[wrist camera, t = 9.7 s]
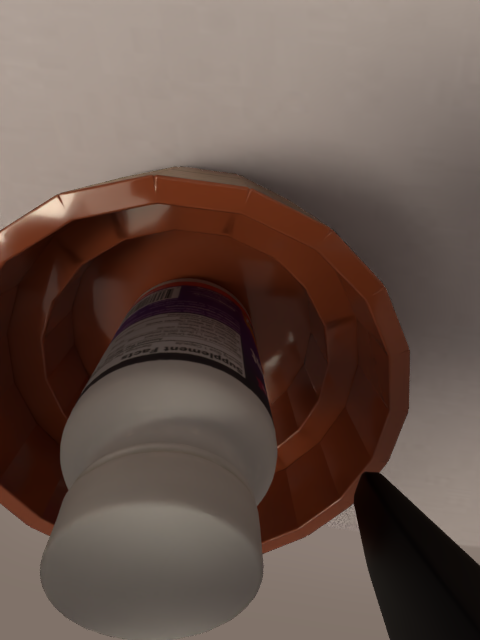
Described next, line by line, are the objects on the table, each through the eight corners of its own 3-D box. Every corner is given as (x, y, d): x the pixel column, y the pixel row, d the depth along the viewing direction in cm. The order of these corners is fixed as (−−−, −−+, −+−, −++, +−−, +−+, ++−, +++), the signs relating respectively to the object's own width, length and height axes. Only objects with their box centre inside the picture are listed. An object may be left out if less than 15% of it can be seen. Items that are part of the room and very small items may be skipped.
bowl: (309, 453, 19) (345, 571, 14) (50, 437, 18) (-24, 561, 12) (381, 193, 14) (486, 218, 8) (18, 142, 13) (-136, 134, 7)
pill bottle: (237, 397, 17) (258, 669, 8) (118, 377, 16) (-4, 653, 7) (269, 289, 15) (345, 497, 6) (133, 260, 14) (-14, 449, 5)
